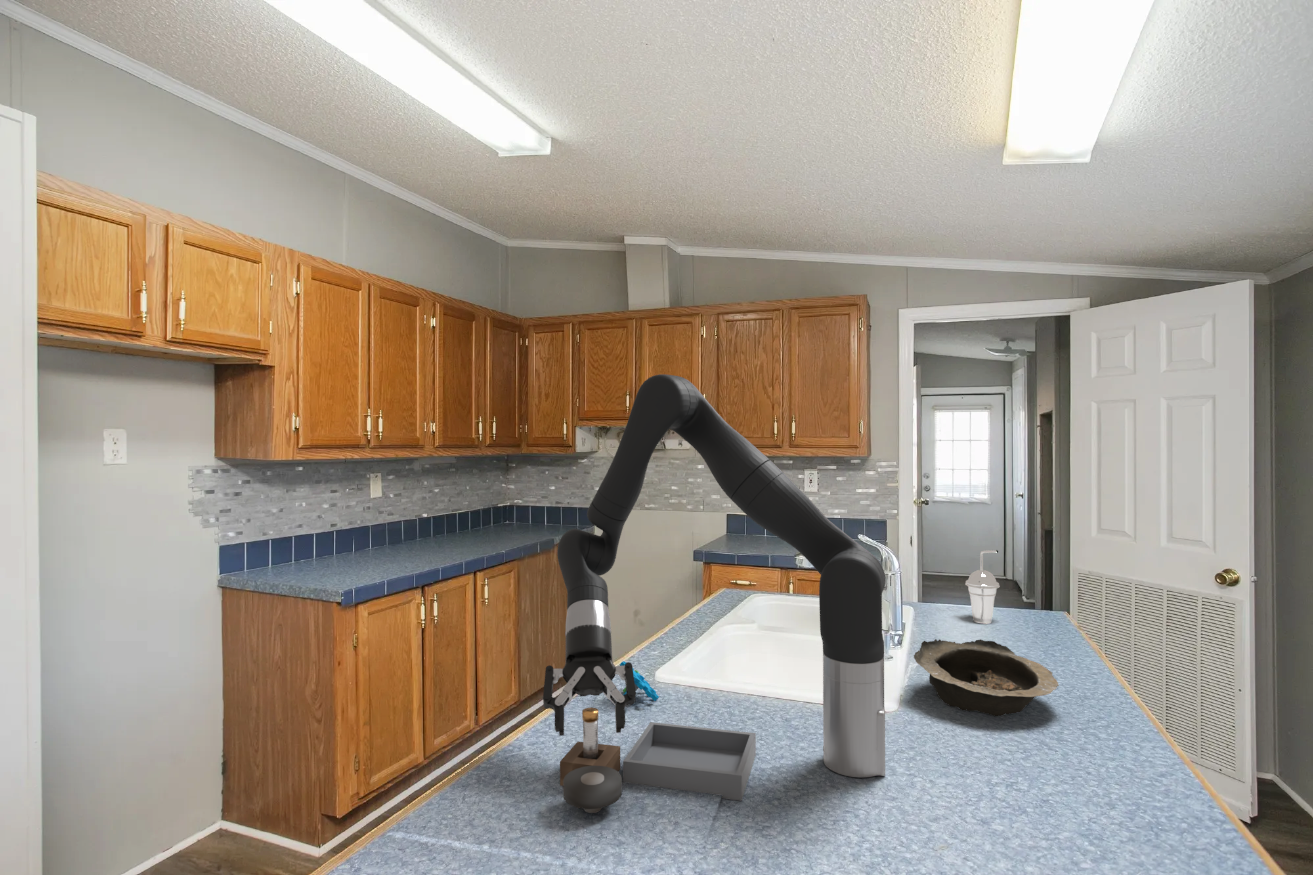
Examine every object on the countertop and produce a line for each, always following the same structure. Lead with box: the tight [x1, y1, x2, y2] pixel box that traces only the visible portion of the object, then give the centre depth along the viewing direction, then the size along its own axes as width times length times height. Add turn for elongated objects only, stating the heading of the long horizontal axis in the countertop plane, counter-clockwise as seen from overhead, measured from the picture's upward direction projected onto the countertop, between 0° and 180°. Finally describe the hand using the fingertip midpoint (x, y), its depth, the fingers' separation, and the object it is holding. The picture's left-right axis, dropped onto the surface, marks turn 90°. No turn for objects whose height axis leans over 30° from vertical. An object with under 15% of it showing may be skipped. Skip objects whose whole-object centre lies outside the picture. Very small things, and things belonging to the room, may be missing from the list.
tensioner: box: [559, 741, 623, 814], centre depth 104 cm, size 11×16×5 cm
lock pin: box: [581, 707, 599, 760], centre depth 108 cm, size 2×2×10 cm
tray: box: [622, 721, 757, 802], centre depth 111 cm, size 18×15×4 cm
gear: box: [618, 660, 660, 702], centre depth 140 cm, size 11×6×10 cm
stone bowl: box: [913, 638, 1060, 717], centre depth 138 cm, size 25×25×9 cm
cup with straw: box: [965, 549, 1001, 625], centre depth 193 cm, size 8×9×20 cm
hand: (590, 732), depth 108 cm, fingers open, 8 cm apart
